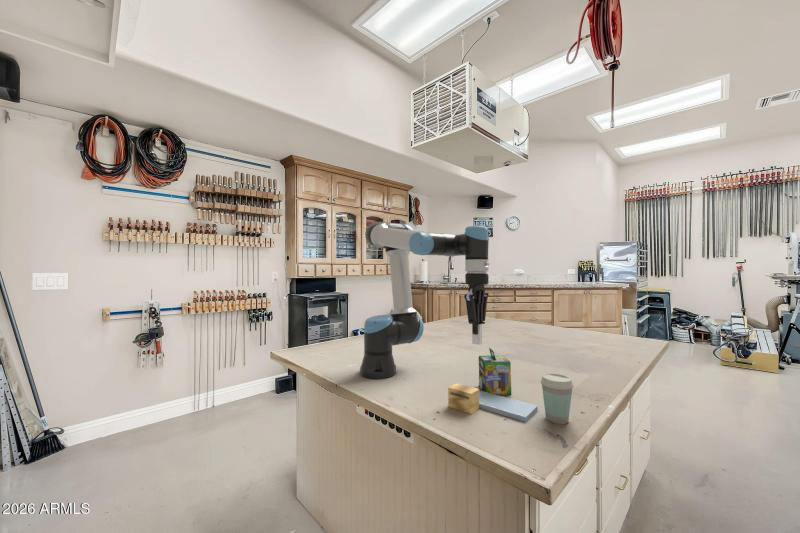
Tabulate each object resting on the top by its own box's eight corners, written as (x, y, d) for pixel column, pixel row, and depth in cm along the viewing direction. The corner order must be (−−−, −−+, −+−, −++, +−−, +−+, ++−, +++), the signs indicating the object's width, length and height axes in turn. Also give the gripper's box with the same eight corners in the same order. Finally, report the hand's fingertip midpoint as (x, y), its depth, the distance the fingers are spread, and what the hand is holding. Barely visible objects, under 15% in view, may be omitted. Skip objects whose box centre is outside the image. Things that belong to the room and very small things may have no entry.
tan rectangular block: (448, 406, 100) (448, 387, 100) (456, 401, 104) (456, 383, 104) (471, 414, 95) (471, 393, 95) (479, 408, 99) (479, 389, 99)
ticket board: (452, 400, 106) (452, 395, 106) (467, 391, 113) (467, 386, 113) (525, 422, 90) (525, 417, 90) (537, 410, 98) (537, 405, 98)
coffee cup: (581, 423, 89) (580, 380, 89) (555, 428, 87) (555, 383, 87) (557, 410, 97) (557, 371, 98) (534, 414, 95) (534, 374, 95)
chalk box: (511, 395, 109) (511, 352, 110) (484, 395, 109) (484, 352, 109) (502, 385, 119) (502, 345, 119) (478, 385, 119) (478, 345, 119)
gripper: (478, 272, 99) (478, 349, 99) (495, 272, 109) (496, 342, 109) (456, 272, 104) (457, 345, 104) (475, 272, 114) (476, 338, 114)
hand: (477, 343), depth 106 cm, fingers closed
